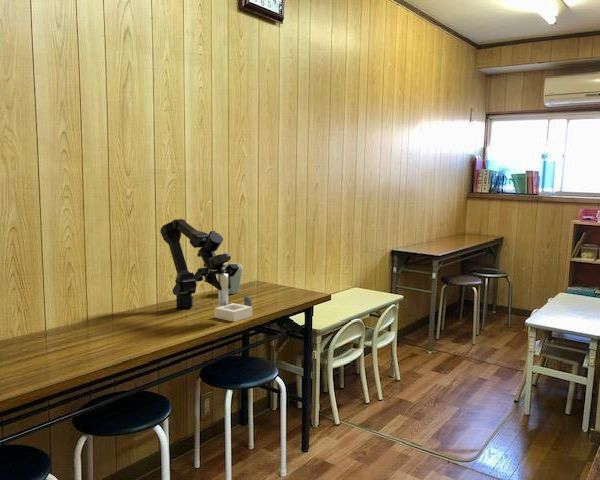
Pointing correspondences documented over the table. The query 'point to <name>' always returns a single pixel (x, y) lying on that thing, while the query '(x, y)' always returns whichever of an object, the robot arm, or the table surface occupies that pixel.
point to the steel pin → (223, 289)
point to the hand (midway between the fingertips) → (225, 289)
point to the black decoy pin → (248, 301)
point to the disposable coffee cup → (235, 279)
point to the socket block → (233, 312)
